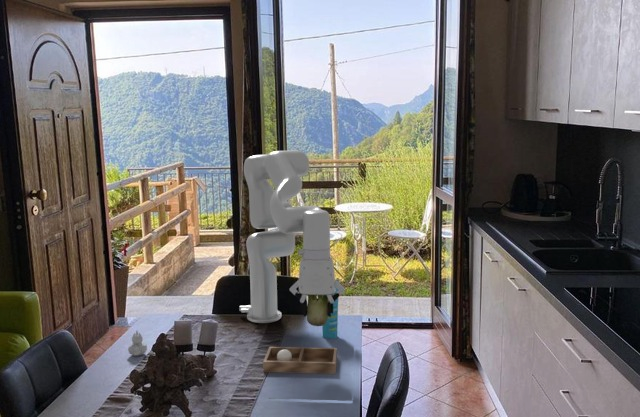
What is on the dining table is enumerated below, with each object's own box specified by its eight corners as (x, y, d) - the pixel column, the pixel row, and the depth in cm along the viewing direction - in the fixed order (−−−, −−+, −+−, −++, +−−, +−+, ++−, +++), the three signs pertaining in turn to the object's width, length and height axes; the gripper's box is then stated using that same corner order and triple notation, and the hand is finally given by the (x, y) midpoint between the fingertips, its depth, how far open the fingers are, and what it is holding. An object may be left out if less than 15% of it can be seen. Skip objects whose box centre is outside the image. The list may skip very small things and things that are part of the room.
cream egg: (275, 367, 159) (275, 352, 159) (278, 360, 164) (277, 346, 163) (291, 367, 159) (290, 353, 158) (293, 361, 163) (292, 346, 163)
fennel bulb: (330, 324, 159) (329, 284, 157) (320, 329, 155) (320, 288, 153) (313, 320, 162) (313, 281, 160) (303, 325, 158) (303, 285, 156)
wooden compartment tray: (263, 373, 157) (263, 361, 156) (269, 357, 167) (269, 346, 167) (335, 375, 155) (335, 363, 155) (337, 359, 166) (337, 348, 165)
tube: (327, 342, 179) (326, 284, 176) (317, 337, 182) (316, 281, 179) (343, 335, 184) (343, 279, 181) (332, 331, 187) (332, 276, 184)
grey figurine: (148, 350, 174) (147, 326, 173) (146, 359, 167) (144, 334, 166) (130, 352, 173) (128, 327, 172) (127, 360, 166) (125, 335, 165)
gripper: (284, 256, 153) (285, 319, 155) (347, 257, 151) (347, 320, 154) (287, 250, 160) (289, 310, 163) (347, 251, 159) (348, 311, 161)
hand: (317, 314), depth 158 cm, fingers closed on fennel bulb, 6 cm apart
